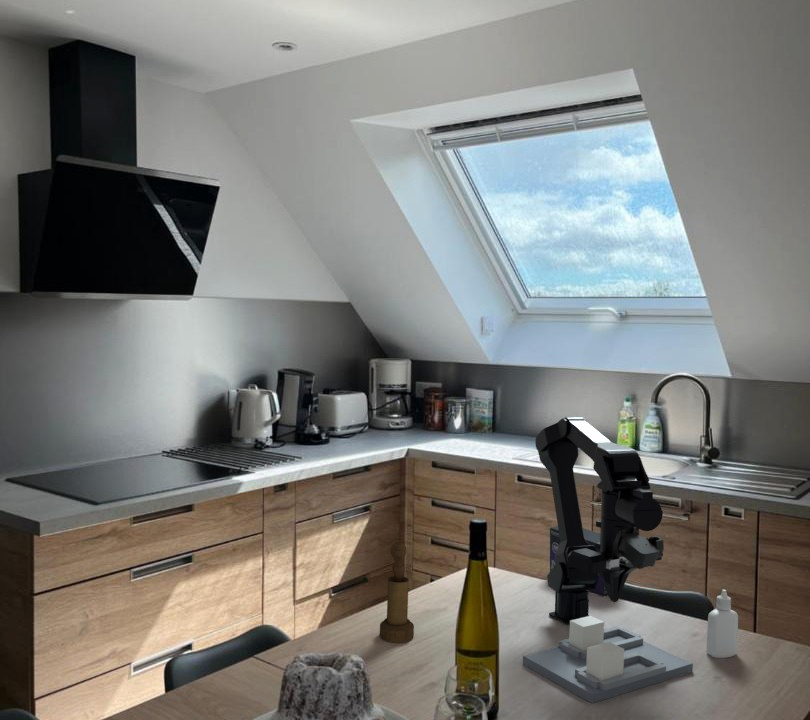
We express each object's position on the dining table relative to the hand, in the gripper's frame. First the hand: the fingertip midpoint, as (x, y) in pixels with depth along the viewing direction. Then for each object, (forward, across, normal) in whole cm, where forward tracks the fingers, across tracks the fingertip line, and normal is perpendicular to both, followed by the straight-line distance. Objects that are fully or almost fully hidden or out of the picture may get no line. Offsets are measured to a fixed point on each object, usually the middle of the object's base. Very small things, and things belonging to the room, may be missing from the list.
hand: (614, 601), depth 154 cm
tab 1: (+8, -6, 0) cm, 10 cm away
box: (+9, +23, +31) cm, 39 cm away
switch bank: (+9, -6, -5) cm, 12 cm away
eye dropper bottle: (+10, +17, -11) cm, 22 cm away
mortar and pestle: (+9, -31, +25) cm, 41 cm away
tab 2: (+8, -12, -10) cm, 18 cm away
